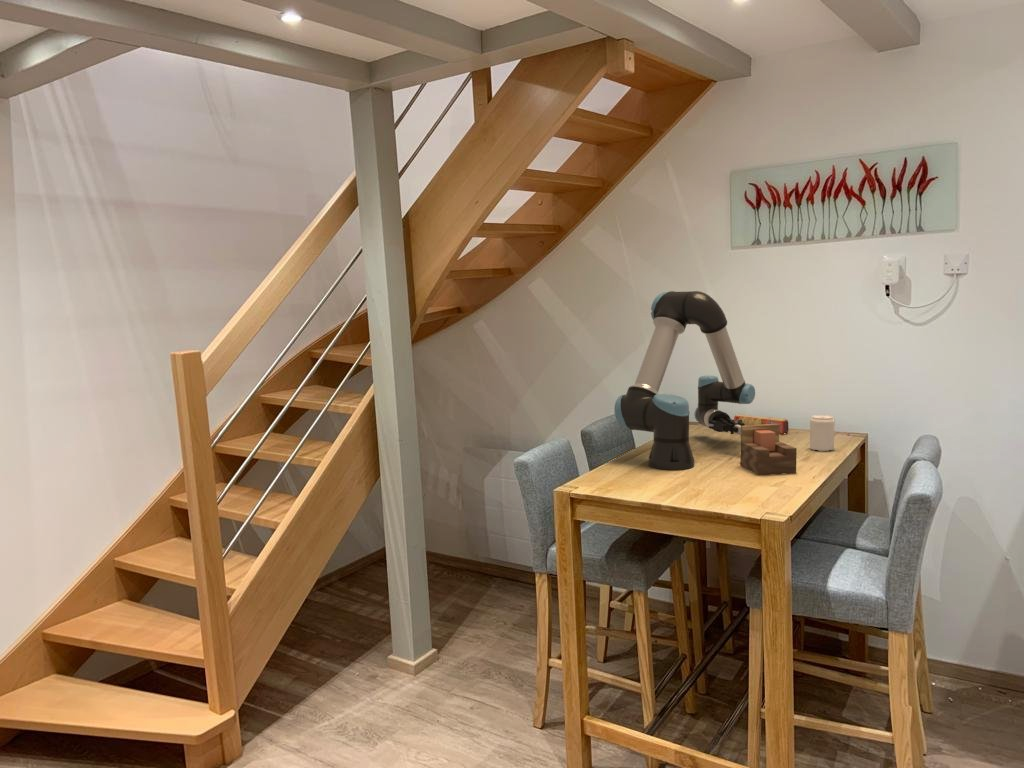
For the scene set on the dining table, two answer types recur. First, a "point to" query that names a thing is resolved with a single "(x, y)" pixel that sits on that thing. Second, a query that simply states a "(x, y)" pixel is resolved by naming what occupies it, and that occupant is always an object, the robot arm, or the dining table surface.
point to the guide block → (766, 453)
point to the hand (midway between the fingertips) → (744, 431)
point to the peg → (764, 438)
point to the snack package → (763, 421)
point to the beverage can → (822, 432)
